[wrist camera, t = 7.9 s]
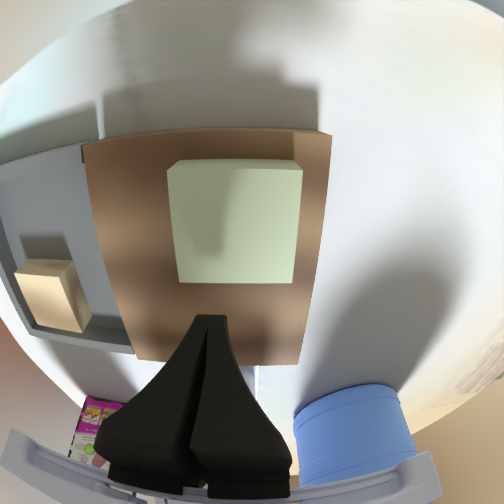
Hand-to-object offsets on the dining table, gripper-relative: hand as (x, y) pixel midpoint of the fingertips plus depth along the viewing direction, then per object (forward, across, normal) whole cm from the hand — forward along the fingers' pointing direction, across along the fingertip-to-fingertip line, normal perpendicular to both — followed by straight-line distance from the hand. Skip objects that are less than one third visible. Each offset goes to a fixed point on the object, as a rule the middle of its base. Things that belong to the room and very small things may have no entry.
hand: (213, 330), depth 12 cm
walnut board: (+8, +1, +1) cm, 9 cm away
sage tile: (+6, -1, -3) cm, 7 cm away
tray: (+8, +16, +1) cm, 18 cm away
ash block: (+5, +16, +4) cm, 17 cm away
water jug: (+9, -15, +27) cm, 33 cm away
